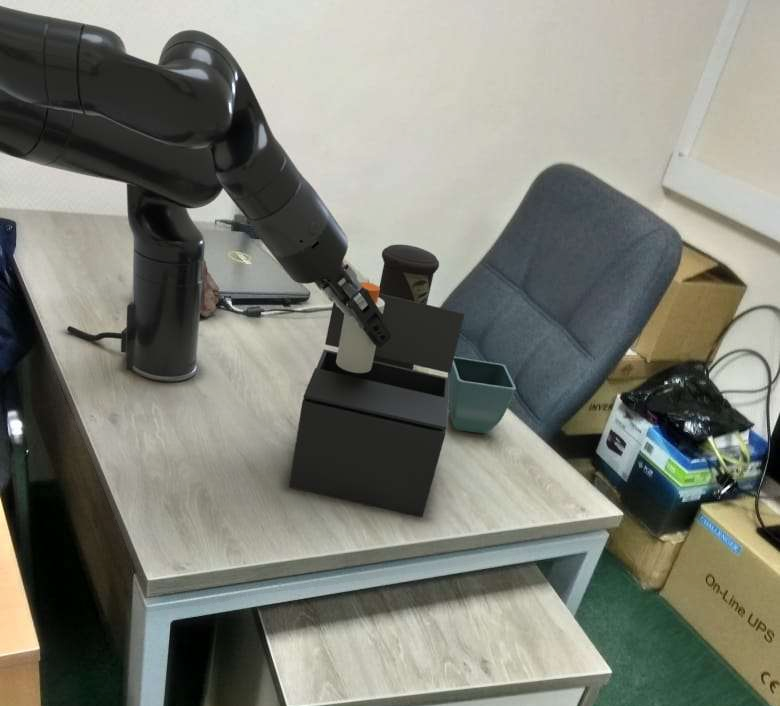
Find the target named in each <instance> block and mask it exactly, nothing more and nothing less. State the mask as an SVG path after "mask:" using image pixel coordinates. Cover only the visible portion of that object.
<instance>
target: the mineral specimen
mask: <svg viewBox="0 0 780 706" xmlns="http://www.w3.org/2000/svg"><path fill="white" fill-rule="evenodd" d="M220 298H221V293H220V287H219V286H218V284H217V283H216V282H215V281H214V278H213V277H212V275H211V274H210V273H209V272H208V267H207V261H206V259H204V264H203V277H202V292H201V305H200V316H202V317H204V318H208V317H212V314H213V313H214V312H215V311H216V310H217V308H216V305H218V303H219V299H220Z"/></svg>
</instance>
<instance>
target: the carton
mask: <svg viewBox="0 0 780 706" xmlns="http://www.w3.org/2000/svg"><path fill="white" fill-rule="evenodd" d="M337 353H338V351H333V350H328V349H323V351H322V353H321V355H320V357H319V360H318V363H317V365H316V367H315V368H314V369H313V372H312V375H311V377H310V379H309V382H308V384H307V387H306V388H305V391H304V394H303V399H302V400H301V401H302V402H301V408H300V412H299V413H300V414H299V419H298V426H297V433H296V440H295V445H294V451H293V459H292V465H291V470H290V477H289V483H288V488H290V489H295V490H300V491H305V492H308V493H312V494H318V495H322V496H327V497H331V498H336V499H340V500H344V501H350V502H352V503H353V502H354V503H359V504H363V505H367V506H372V507H376V508H381V509H386V510H389V511H394V512H399V513H403V514H408V515H411V516H412V515H413V516H417V517H421V518H422V517H423V516H424V513H425V509H426V506H427V502H428V498H429V496H430V495H429V494H430V492H431V489H432V484H433V481H434V478H435V474H436V470H437V466H438V462H439V459H440V455H441V452H442V448H443V445H444V441H445V437H446V433H447V428H448V414H449V409H448V401H449V399H448V389H449V378H447V377H448V376H441V375H437V374H433V373H428V372H424V371H420V370H415V369H413V370H412V369H407V368H403V367H399V366H394V365H390V364H386V363H381V362H377V361H373V363H372V368H371V370H370V371H369V372H366V373H354V372H349V371H346V370H344V369H342V368H340V367H339V366H338V365H337V363H336V359H337Z"/></svg>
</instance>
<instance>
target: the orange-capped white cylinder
mask: <svg viewBox="0 0 780 706" xmlns="http://www.w3.org/2000/svg"><path fill="white" fill-rule="evenodd" d="M360 284H361V285H362V286H363V287H364V288H365V289H367V290H368V291H369V294H370V296H371V297H372V299H373V301H374V302H375V304H376V306H377V307H378V309H379V310H380V312H381V313H382V314H383V310H384V305H385V303H384V301H383V300H382V299H381V298H379V297H378V296H379V291H380V288H379V287H380V286H379V285H376V284H375V283H372V282H366V281H361V282H360ZM357 291H359V290H358V289H357ZM346 306H348V305H347V303H346ZM358 325H359V324H358V323H357V322H356V321H355V319H354V318H353V317H352V316H351V317H349V316H347V315H345V314H344V320H343V325H342V331H341V337H340V342H339V348H338V347H337V352H338V353H337V359H336V363H337V365H338V366H339V367H340V368H342V369H344V370H346V371H349V372H354V373H366V372H369V371H370V370H371V368H372V363H373V358H374V353H375V349H376V345H375V344H374V343H373V342H372V341H371V339H370V338H369V337H368V335H367V334H366V333H365V331H364V330H363V329H362V328H360V327H359V326H358Z"/></svg>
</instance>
